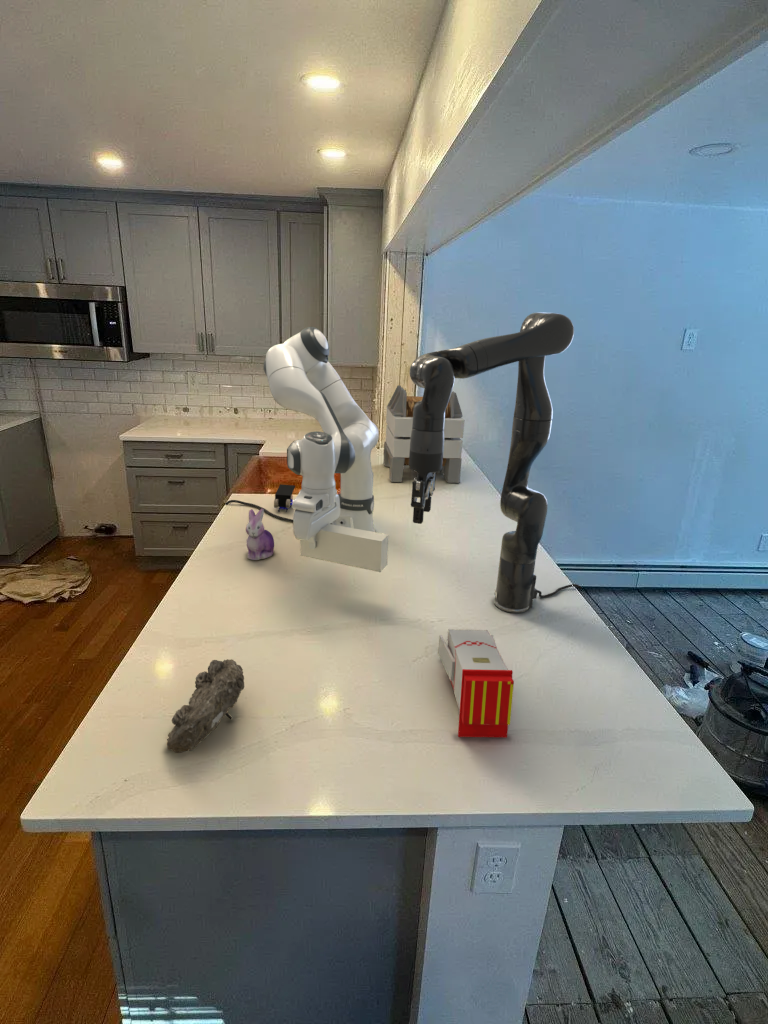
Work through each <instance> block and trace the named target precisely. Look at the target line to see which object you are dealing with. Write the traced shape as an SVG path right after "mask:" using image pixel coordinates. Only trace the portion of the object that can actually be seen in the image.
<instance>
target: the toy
mask: <svg viewBox="0 0 768 1024" xmlns="http://www.w3.org/2000/svg"><path fill="white" fill-rule="evenodd" d="M446 640H447V643H446V641H445V639H444V636H443V635H442V634H439V637H438V646H437V656H438V657H439V659H440V661H441V663H442V666H443V668H444V670H445V672H446V674H447V677H448V679H449V681H450V684H451V687H452V690H453V693H454V697H455V701H456V705H457V708H458V711H459V714H458V715H459V716H458V730H457V731H458V732H457V737H458V738H508V731H509V726H510V725H511V717H512V707H513V697H514V696H513V695H514V684H515V680H514V679H513V673H514V671H513V670H512V669H508V667H507V665H506V662H505V661H504V659H503V658H502V655H501V653H500V651H499V649H498V647H497V643H496V639H495V637H494V635H493V634H491V632H490V631H489V629H467V628H466V629H465V628H463V629H461V628H460V629H459V628H448V630H447V639H446Z"/></svg>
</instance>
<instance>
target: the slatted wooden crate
mask: <svg viewBox="0 0 768 1024" xmlns="http://www.w3.org/2000/svg"><path fill="white" fill-rule="evenodd" d="M407 394H408V393H407V390H406V389H404V388H403V387H402V385H399V384H398V385H397V386H396V388H395V390H394V392H393V394H392V395H391V398H390V400H389V402H388V404H387V405H386V413H385V414H386V415H385V423H386V428H385V438H384V442H383V466H384V467H388V468H389V475H388V476H389V477H388V478H389V480H390V482H391V483H402V482H403V475H404V469H405V466H406V467H407V466H408V467H409V453H410V437H411V432H412V422H413V409H414V405H415V403H417V402H418V401H421V400H422V398H423V396H415V395H414V396H413V395H412V396H411V395H407ZM464 429H465V419H464V418H463V411H462V408H461V405H460V402H459V398H458V395H457V392H455V391H453V390H452V392H451V396H450V399H449V402H448V405H447V407H446V410H445V423H444V450H443V463H442V469H441V470H440V471H439V473H440V474H441V475H443V478H444V479H445V481H446V482H447V483H449V484H455V483H456V484H459V483H461V472H462V461H463V460H462V453H463V442H464V441H463V440H462V439H463V438H464V431H465V430H464Z"/></svg>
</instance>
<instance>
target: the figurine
mask: <svg viewBox="0 0 768 1024" xmlns="http://www.w3.org/2000/svg"><path fill="white" fill-rule="evenodd" d="M263 508H264V507H262V509H259V511H258V512H257V513H255V510H254V509H252V508H250V510H248V522H247V524H246V526H245V533H246V534H247V538H246V542H245V543H246V548H247V550H248V551H247V559H248V560H252V561H259V560H265V559H267V558H270V557H272V556H273V555H274V552H275V551H274V550H275V540H274V536H273V534H272V533H271V532H270V531H269V530H268V529H265V526H264V523H263V519H264V516H265V515H264V514H265V512H264V509H265V508H264V509H263Z"/></svg>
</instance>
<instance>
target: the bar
mask: <svg viewBox="0 0 768 1024" xmlns="http://www.w3.org/2000/svg"><path fill="white" fill-rule="evenodd" d="M389 537H390V536H389V534H387V533H382V532H378V531H377V532H376V531H375V532H372V531H366V530H360V529H355V528H349V527H344V526H338V525H333V524H328V525H326V526H325V527H324V528H322V529H321V530H320V532H318V533H317V534H316V537H315V541H317V547H316V548H315V549H310V548H309V542H308V540H307V541H305V540H300V539H299V545H300V546H299V547H300V548H299V551H300V552H299V553H300V555H299V557H304V558H308V559H314V560H319V561H324V562H330V563H333V564H338V565H343V566H347V567H352V568H357V569H363V570H366V571H372V572H378V573H381V572H382V571H383V570H385V568H386V567H387V566H388V558H389V557H388V556H389Z"/></svg>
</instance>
